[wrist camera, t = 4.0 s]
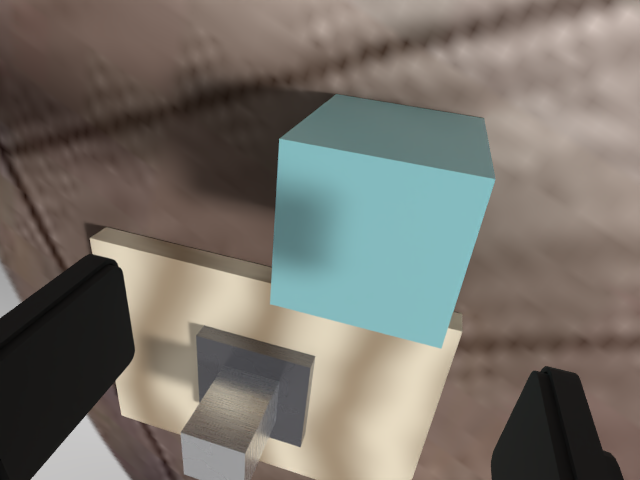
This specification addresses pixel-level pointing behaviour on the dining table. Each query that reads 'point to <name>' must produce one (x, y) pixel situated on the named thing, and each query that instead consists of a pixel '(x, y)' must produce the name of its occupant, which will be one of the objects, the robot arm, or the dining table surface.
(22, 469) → the robot arm
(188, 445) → the post
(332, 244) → the teal block
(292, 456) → the base board
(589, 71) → the dining table surface
